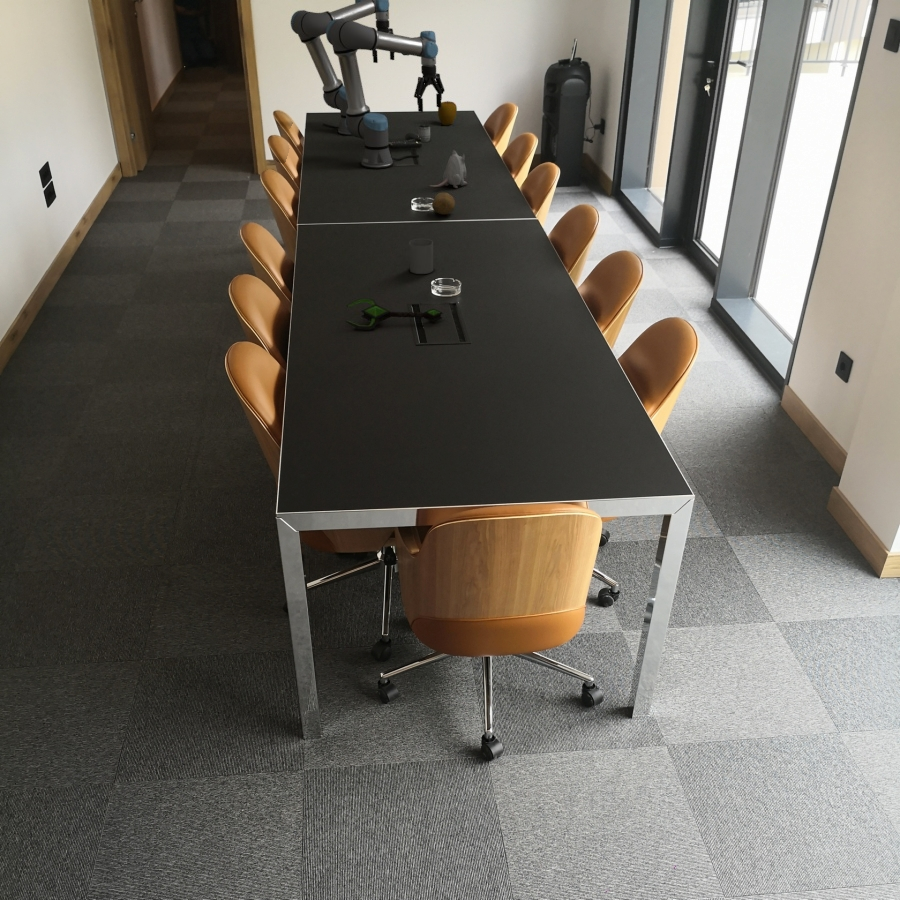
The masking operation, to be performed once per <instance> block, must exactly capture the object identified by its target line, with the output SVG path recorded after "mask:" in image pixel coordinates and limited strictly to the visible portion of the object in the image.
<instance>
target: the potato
mask: <svg viewBox="0 0 900 900" xmlns="http://www.w3.org/2000/svg"><path fill="white" fill-rule="evenodd" d="M455 206H456V200H455V198H454V196H452V195H451V194H449V193H448V192H439V193H437V194H436V195H435V197H434V198H433V200H432V201H431V207H432V209H433V210H434V212H436V213H437V214H439V215H441V216H442V215H449V214H450V213H452V212H453V211H454V209H455Z"/></svg>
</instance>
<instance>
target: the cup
mask: <svg viewBox="0 0 900 900" xmlns="http://www.w3.org/2000/svg"><path fill="white" fill-rule="evenodd" d="M408 253H409V272H411V273H412V274H416V275H426V274H430V273H432V272H434V241H433V240H431V239H428V238H422V237H421V238H420V237H419V238H414V239H411V240H410V241H409V242H408Z"/></svg>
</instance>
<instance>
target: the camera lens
mask: <svg viewBox="0 0 900 900" xmlns="http://www.w3.org/2000/svg"><path fill="white" fill-rule="evenodd" d="M419 138H421V139H422V140H421V141H420V142H426V143H428V142H430V140H431V126H430V125H429V124H420V125H419V126H418V139H419Z"/></svg>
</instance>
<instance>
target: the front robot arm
mask: <svg viewBox="0 0 900 900" xmlns="http://www.w3.org/2000/svg"><path fill="white" fill-rule="evenodd" d="M325 36H326V40H327V43H329V44H330V45H331V46H332V51H333V54H334V55H335V56H337V58H338V63H339V69H340V72H341V76H342V77H341V79H342V83H343V85H344V88H345V93H346V98H347V102H348V109H347V111H346V113H347V116H346V118H345V127H346V129H347V131H348V132H349V133H350V134H351V135H350V136H353V137H354V138H358V139H361V140H364V151H363V155H362V159H361V166H362V167H363V168H366V169H371V170H381V169H387V168H390V167H392V166H394V161H401V160H403V159H406V158H419V157H420V155H419V154H413V155H412V154H411V155H410V154H409V155H404V156H401V157H398V158H397V157H392V155H391V152H390V151H391V150H390V147H389V145H390V144H389V122H388V118H387V116H385V114H382V113H377V112H371V108H370V106H368V105H367V104H366V99H365V93H364V88H363V83H362V78H361V73H360V68H359V67H360V66H359V62H358V58H357V52H358V51H359V50H361V51H363V50H364V51H371V52H372V50H374V49H376V50H378V51H379V50H380V51H385V52H389V53H390V52H395V53H396V54H401V55H402V56H413V57H418V58H420V64H421V74H422V77H421V76H418V77H417V83H416V86H415V91H414V95H413V98H415V99H416V102H417V112H419V113H424V99H423V96H424V93H425V91H426V89H427V88H428V87H429V86H433V88H434V90H435V91H436V93H435V97H436V98H435V100H436V101H435V102H436V108H438V107H440V108H441V102H442V99H443V96H442V95H443V94H444V92H445V87H444V85H443V82H442V79H441V74H440V73H438V72H437V56H438V53H439V46H438V45H437V38H436V32H435V31H434V30H423V31H420V33H419V36H417V37H416V36H415V37H410V36H404V35H399V34H395V33H393V34H390V33H385V32H380V31H377V28H376V27H372V26H368V25H365V24H362V23H359V22H357V21H348V20H344V19H335V20H333V21H331V22H330V23H329V25H328V27H327V30H326V34H325Z"/></svg>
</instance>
